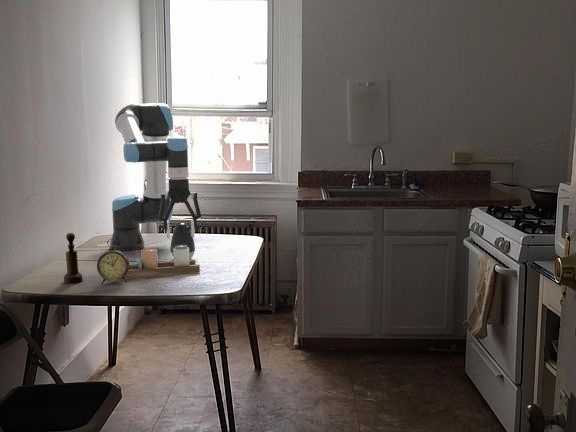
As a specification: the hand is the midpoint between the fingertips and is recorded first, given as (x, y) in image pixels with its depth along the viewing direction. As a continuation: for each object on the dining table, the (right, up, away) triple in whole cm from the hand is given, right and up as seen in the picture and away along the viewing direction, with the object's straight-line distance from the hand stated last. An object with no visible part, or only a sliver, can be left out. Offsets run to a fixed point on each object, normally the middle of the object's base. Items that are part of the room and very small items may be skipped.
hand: (180, 237), depth 262 cm
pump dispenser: (-2, -10, +23) cm, 25 cm away
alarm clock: (-22, -16, -14) cm, 31 cm away
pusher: (-18, -14, -4) cm, 23 cm away
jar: (0, -13, +2) cm, 13 cm away
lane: (-8, -14, -1) cm, 16 cm away
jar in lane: (-11, -14, -2) cm, 18 cm away
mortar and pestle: (-37, -16, -12) cm, 42 cm away
